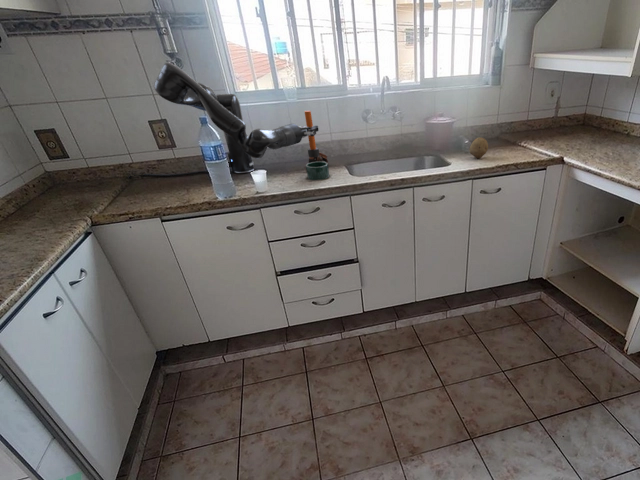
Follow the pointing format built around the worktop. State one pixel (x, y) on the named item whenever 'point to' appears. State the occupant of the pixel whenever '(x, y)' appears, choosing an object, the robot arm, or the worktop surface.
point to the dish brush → (311, 137)
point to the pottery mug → (318, 158)
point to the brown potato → (478, 147)
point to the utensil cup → (317, 170)
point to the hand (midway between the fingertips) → (314, 128)
